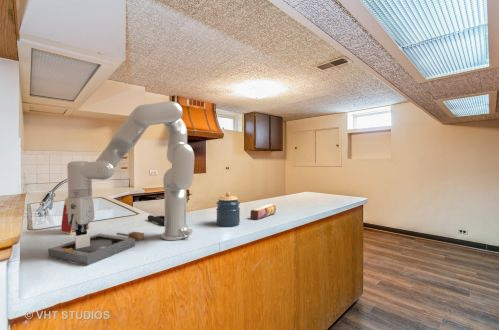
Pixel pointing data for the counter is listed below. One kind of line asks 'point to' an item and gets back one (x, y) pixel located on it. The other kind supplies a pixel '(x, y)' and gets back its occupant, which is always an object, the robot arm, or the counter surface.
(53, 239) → the counter surface
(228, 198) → the canister
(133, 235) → the screwdriver
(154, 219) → the door handle
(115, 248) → the tray
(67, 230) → the milk carton
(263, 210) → the snack package
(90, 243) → the dial
